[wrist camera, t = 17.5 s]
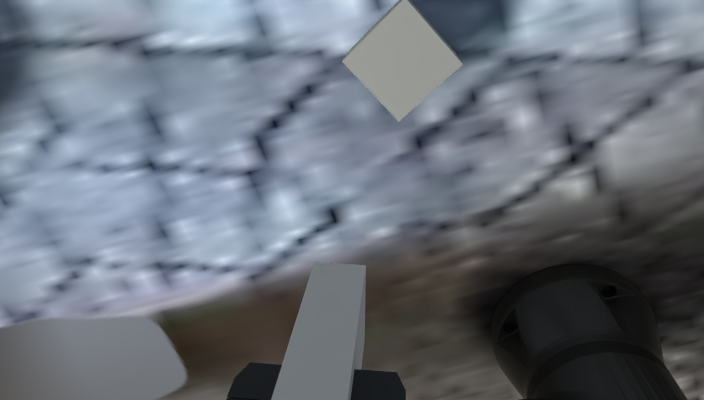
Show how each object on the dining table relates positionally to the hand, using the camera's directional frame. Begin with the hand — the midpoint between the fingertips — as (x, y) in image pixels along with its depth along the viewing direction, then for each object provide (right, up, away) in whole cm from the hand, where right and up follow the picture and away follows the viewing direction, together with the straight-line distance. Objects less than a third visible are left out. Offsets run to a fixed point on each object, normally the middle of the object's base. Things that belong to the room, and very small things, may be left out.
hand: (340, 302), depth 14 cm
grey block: (+4, +15, +25) cm, 30 cm away
